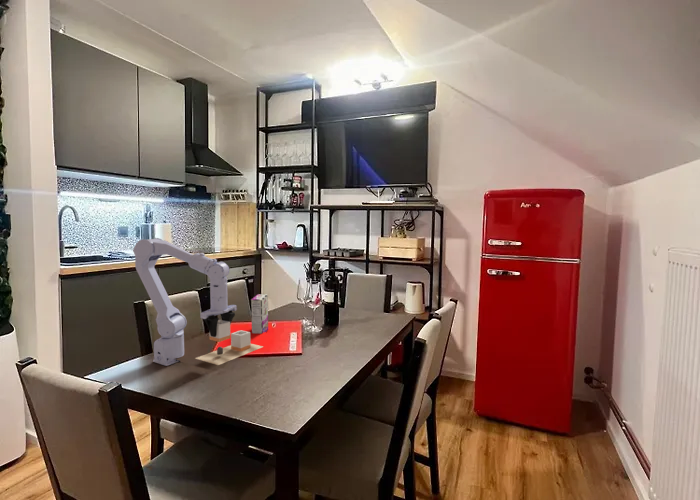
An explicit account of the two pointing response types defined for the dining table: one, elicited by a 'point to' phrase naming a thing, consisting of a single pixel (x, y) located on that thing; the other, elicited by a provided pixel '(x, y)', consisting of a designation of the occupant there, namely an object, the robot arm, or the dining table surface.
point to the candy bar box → (259, 313)
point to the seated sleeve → (240, 340)
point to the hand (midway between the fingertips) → (219, 334)
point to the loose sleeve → (221, 331)
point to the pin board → (226, 354)
